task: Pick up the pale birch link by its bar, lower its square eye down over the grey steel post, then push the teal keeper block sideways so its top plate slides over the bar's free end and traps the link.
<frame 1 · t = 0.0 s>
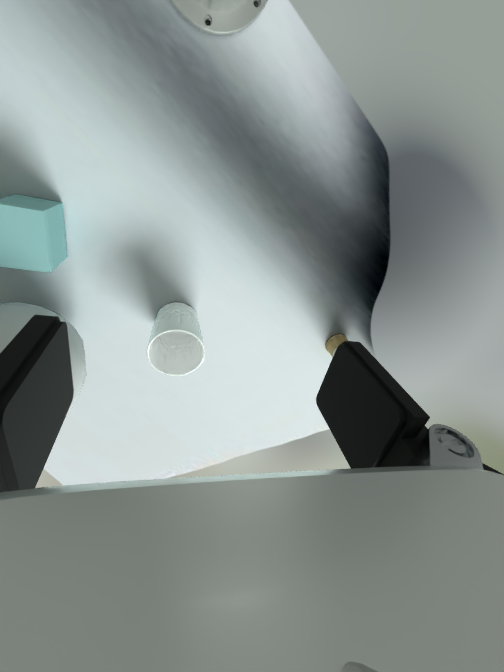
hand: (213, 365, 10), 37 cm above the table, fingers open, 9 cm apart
vase: (43, 329, 46), on the table
white cup: (177, 319, 50), on the table
sprinkles bottle: (335, 342, 60), on the table
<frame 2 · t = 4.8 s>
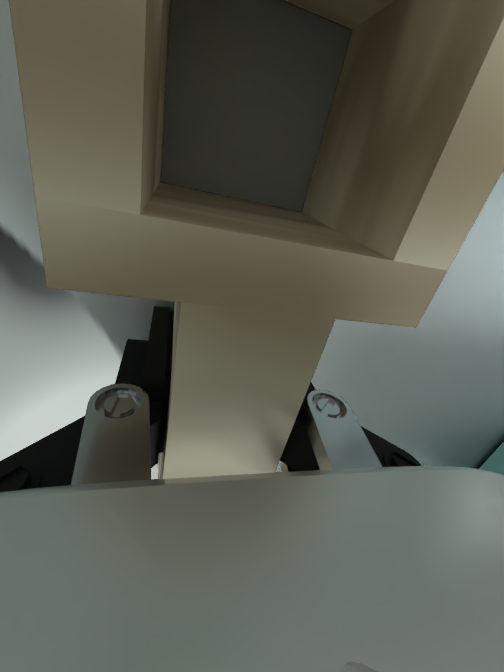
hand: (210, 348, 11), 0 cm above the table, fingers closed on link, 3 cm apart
link: (250, 110, 8), on the table, touching gripper
when the fingers open (2 cm above the table, at t = 10.1 s): link drops 1 cm, on the table.
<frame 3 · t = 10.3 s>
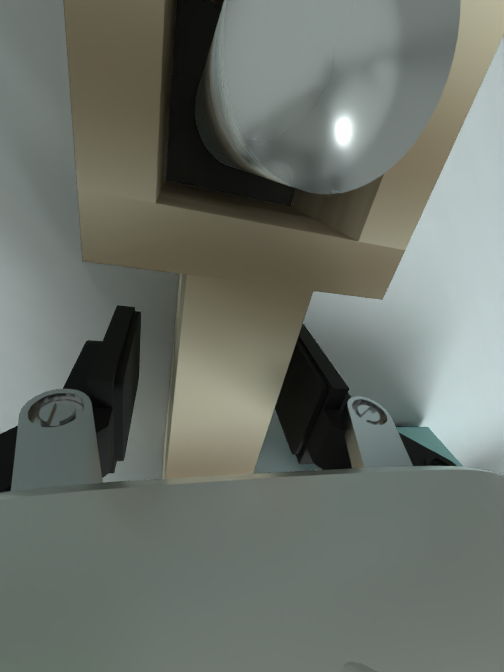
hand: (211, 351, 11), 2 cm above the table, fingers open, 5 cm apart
post: (241, 116, 9), on the table
keeper: (342, 515, 17), point 4 cm above the table, slide at 0.0 cm
link: (244, 117, 9), on the table
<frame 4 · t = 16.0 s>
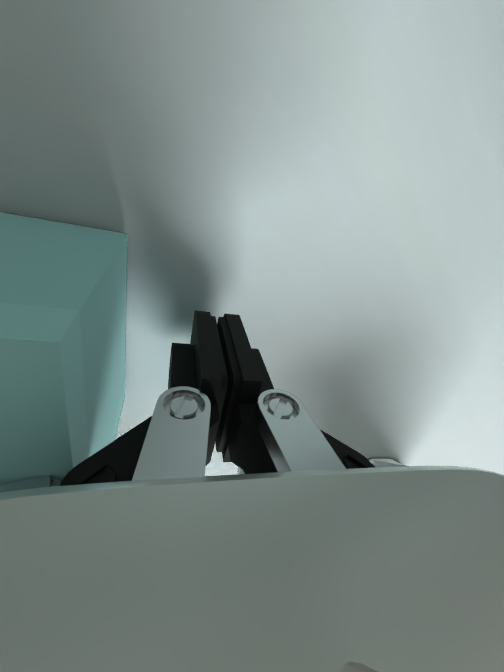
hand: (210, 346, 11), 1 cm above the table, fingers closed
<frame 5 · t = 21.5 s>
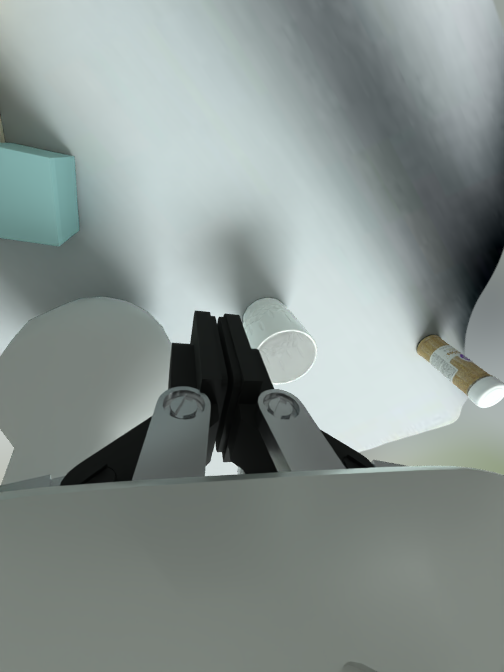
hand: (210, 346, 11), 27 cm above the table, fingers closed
vase: (116, 329, 40), on the table
white cup: (264, 317, 43), on the table
sprinkles bottle: (426, 344, 53), on the table
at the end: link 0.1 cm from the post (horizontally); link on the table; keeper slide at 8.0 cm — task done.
